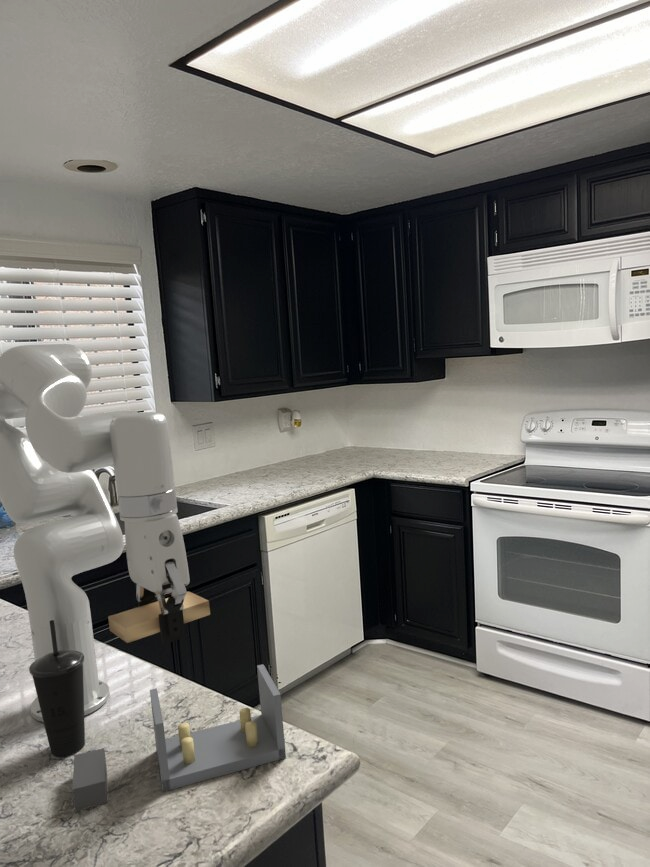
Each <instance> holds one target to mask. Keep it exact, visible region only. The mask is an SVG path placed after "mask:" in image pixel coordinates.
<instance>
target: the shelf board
mask: <svg viewBox="0 0 650 867" xmlns="http://www.w3.org/2000/svg"><path fill="white" fill-rule="evenodd" d="M168 598H169V597H167V598H165V601H166V602H167V600H168ZM183 606H184V608H183V618H184V624H187V623H190V622H193V621H195V620H196V621H197V620H198V619H202V618H204V617H207V616H210V615H211V608H210V600H208V599H206V598H204V597H202V596H200V595H198V594H196V593H193V592H191V591H187V593H186V595H185V597H184V602H183ZM158 614H162V613H161V610H160V606H159V602H158V601H157V602H154V603H150V604H147V605H144V606H140V607H134V608H132V609H128V610H125V611H121V612H119V613H115V614H112V615H108V616H107V618H108V625H109V631H110V632H111V633H113V634H114V635H115V636H116V637H118V638H120V639H121V640H122V641H123V642H125V643H126V644H128V643H132V642H134V641H138V640H141V639H142V638H143V639H144V638H146V637H149V636H153V635H155V634H158V633H161V632H160V624H159V615H158Z"/></svg>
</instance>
